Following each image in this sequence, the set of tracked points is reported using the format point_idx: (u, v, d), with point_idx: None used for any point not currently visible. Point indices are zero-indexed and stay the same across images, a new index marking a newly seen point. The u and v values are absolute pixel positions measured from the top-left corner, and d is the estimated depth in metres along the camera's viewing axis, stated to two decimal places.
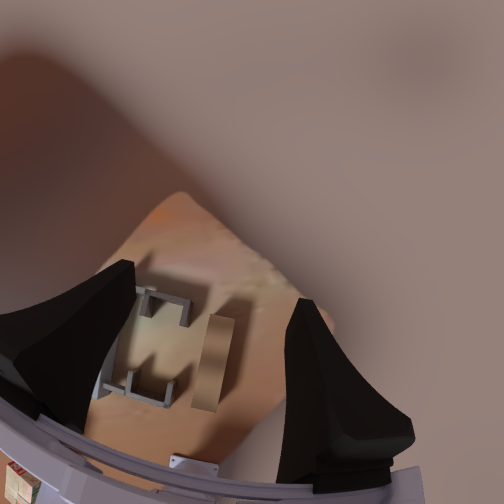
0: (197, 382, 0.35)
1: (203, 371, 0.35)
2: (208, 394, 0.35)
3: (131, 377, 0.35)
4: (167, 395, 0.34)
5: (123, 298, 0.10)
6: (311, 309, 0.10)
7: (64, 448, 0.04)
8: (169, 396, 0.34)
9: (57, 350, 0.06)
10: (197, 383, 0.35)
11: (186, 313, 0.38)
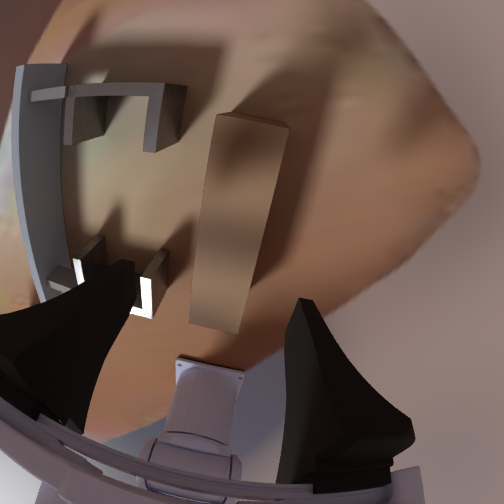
0: (195, 281, 0.17)
1: (205, 260, 0.16)
2: (220, 303, 0.18)
3: (80, 268, 0.19)
4: (145, 298, 0.19)
5: (123, 298, 0.10)
6: (311, 309, 0.10)
7: (64, 448, 0.04)
8: (149, 300, 0.19)
9: (57, 350, 0.06)
10: (196, 283, 0.17)
11: (156, 119, 0.13)
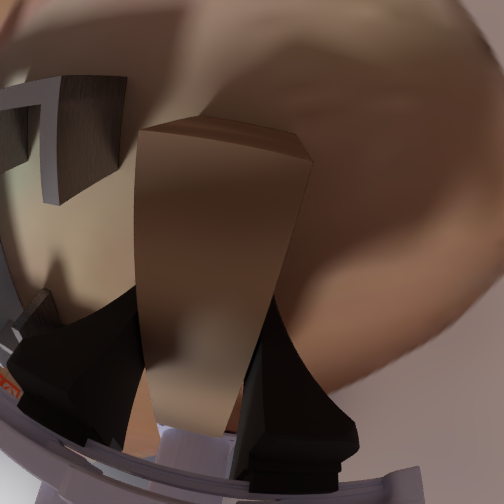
0: (154, 392, 0.10)
1: (162, 375, 0.09)
2: (194, 415, 0.11)
3: None
4: None
5: None
6: None
7: (64, 448, 0.04)
8: None
9: (106, 371, 0.06)
10: (155, 394, 0.10)
11: (53, 145, 0.06)
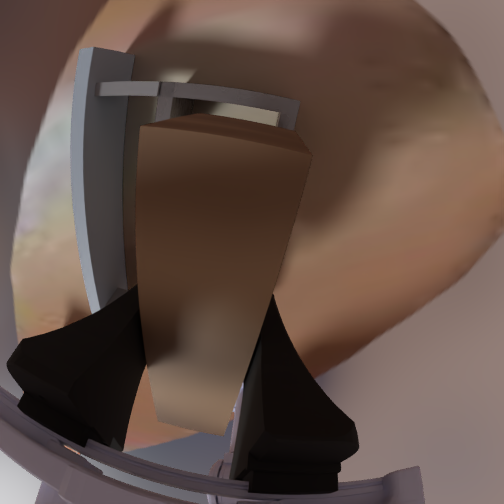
0: (156, 389, 0.10)
1: (164, 372, 0.09)
2: (195, 412, 0.11)
3: None
4: None
5: None
6: None
7: (64, 448, 0.04)
8: None
9: (107, 371, 0.06)
10: (156, 391, 0.10)
11: None
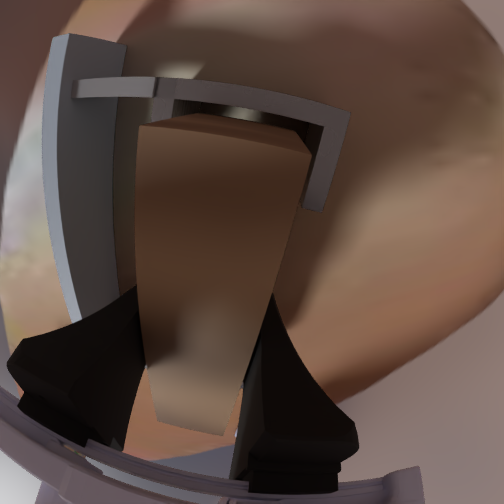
0: (155, 389, 0.10)
1: (163, 372, 0.09)
2: (195, 412, 0.11)
3: None
4: None
5: None
6: None
7: (64, 448, 0.04)
8: None
9: (107, 371, 0.06)
10: (156, 391, 0.10)
11: (332, 164, 0.09)
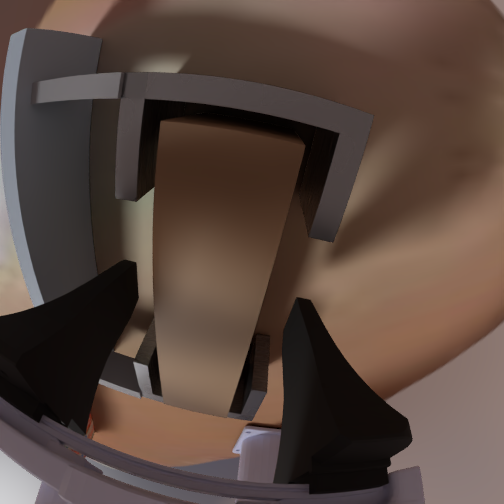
0: (163, 368, 0.11)
1: (172, 348, 0.10)
2: (200, 392, 0.12)
3: (146, 373, 0.13)
4: (249, 406, 0.14)
5: (125, 299, 0.10)
6: (308, 309, 0.10)
7: (64, 448, 0.04)
8: (255, 407, 0.14)
9: (60, 351, 0.06)
10: (164, 370, 0.11)
11: (348, 182, 0.07)
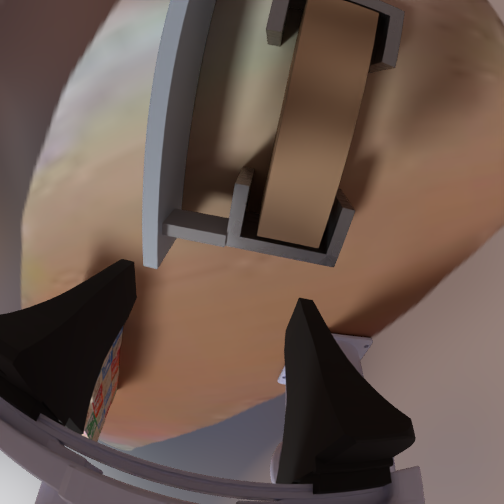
0: (276, 169, 0.14)
1: (292, 139, 0.13)
2: (303, 200, 0.14)
3: (244, 199, 0.15)
4: (337, 237, 0.16)
5: (123, 298, 0.10)
6: (311, 309, 0.10)
7: (64, 448, 0.04)
8: (341, 239, 0.16)
9: (57, 350, 0.06)
10: (275, 172, 0.14)
11: (397, 38, 0.10)
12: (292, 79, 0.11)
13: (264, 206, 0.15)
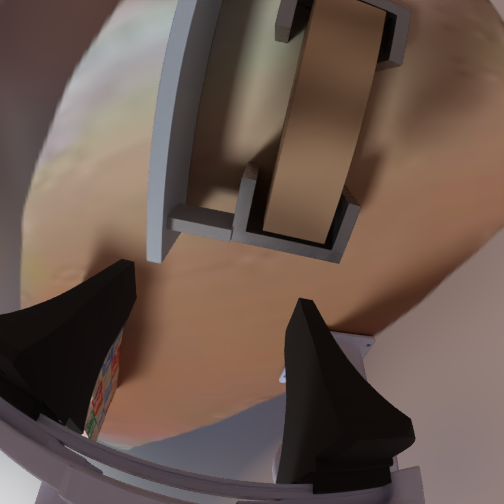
0: (283, 163, 0.14)
1: (299, 133, 0.13)
2: (310, 195, 0.14)
3: (250, 193, 0.15)
4: (342, 233, 0.16)
5: (123, 298, 0.10)
6: (311, 309, 0.10)
7: (64, 448, 0.04)
8: (347, 235, 0.16)
9: (57, 350, 0.06)
10: (283, 166, 0.14)
11: (404, 36, 0.10)
12: (300, 74, 0.11)
13: (270, 200, 0.15)
